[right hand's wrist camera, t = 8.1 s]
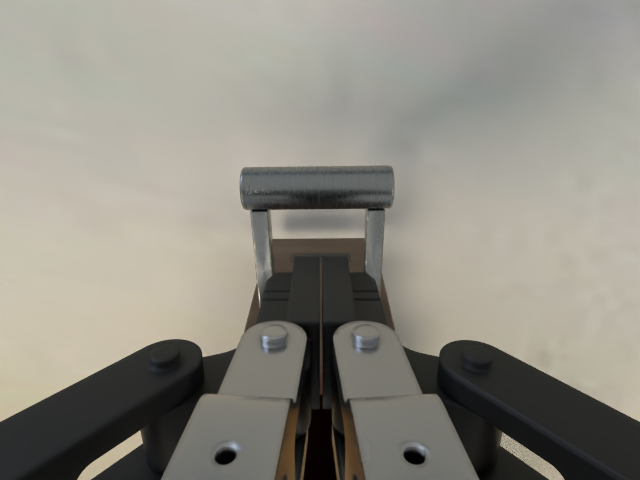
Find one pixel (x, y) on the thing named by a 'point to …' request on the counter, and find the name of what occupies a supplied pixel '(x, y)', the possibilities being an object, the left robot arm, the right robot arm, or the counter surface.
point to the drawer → (317, 251)
